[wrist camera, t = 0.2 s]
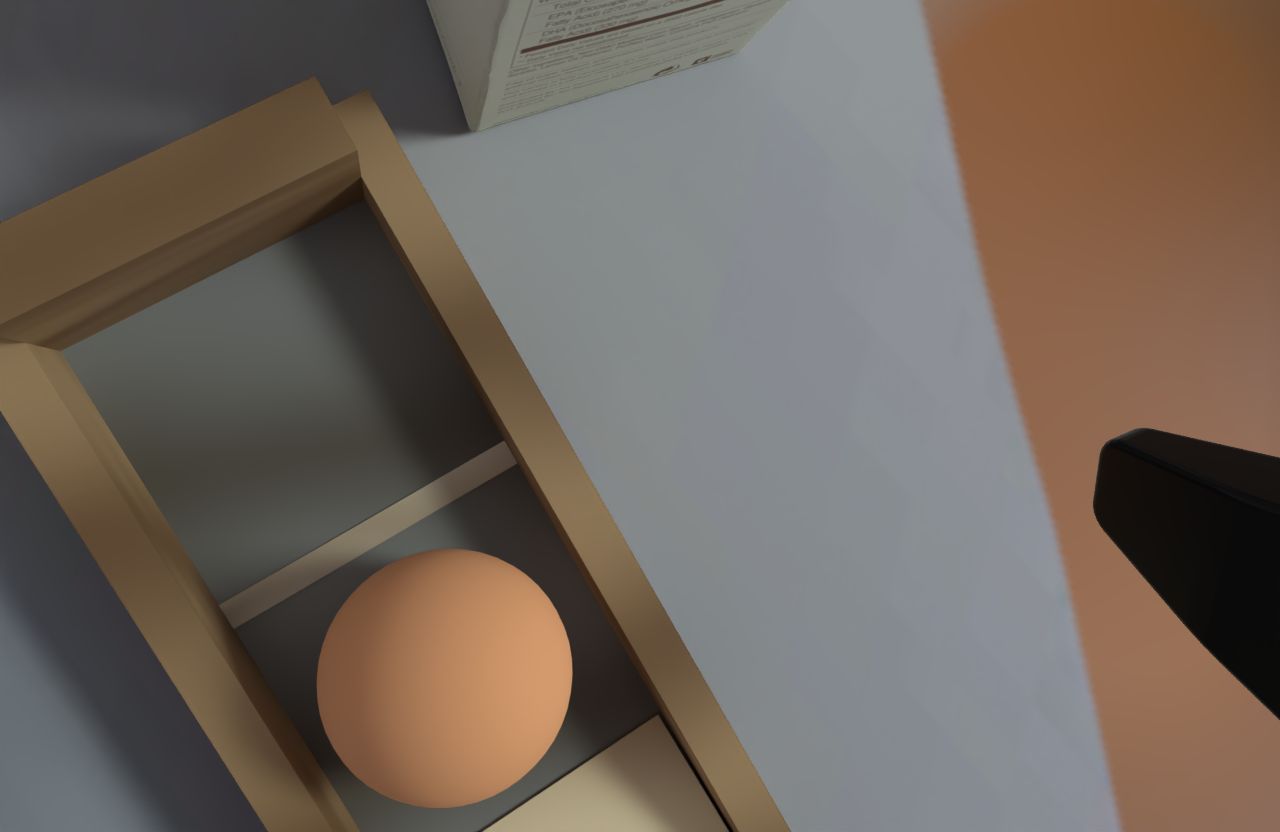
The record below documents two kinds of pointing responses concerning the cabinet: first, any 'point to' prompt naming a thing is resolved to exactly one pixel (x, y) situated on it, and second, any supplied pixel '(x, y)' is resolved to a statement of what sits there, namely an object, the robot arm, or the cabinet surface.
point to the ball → (444, 678)
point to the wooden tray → (331, 465)
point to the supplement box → (580, 47)
